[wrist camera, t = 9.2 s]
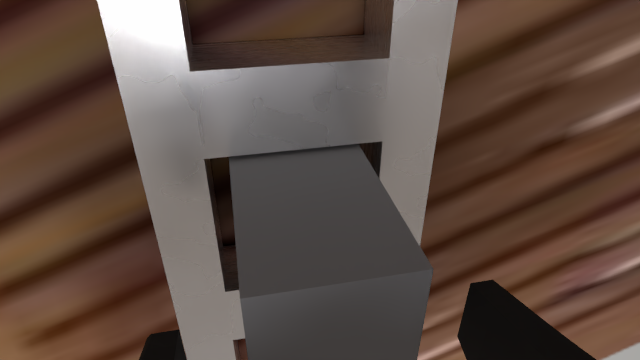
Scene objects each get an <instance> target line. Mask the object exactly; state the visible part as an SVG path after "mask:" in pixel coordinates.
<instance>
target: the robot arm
mask: <svg viewBox="0 0 640 360" xmlns="http://www.w3.org/2000/svg"><path fill="white" fill-rule="evenodd" d="M458 339H459V341H460V344H461V347H462V349H463V352H464V354H465V357H466V359H467V360H596V359H595V358H593V357H592V356H591V355H589V354H588V353H586V352H585V351H584V350H582V349H581V348H580V347H578V346H577V345H576V344H574V343H573V342H571V341H570V340H569V339H568V338H566V337H565V336H564V335H562V334H561V333H560V332H558V331H557V330H556V329H554V328H553V327H552V326H551V325H549V324H548V323H547V322H545V321H544V320H543V319H542V318H540V317H539V316H538V315H537V314H535V313H534V312H533V311H532V310H530V309H529V308H528V307H526V306H525V305H524V304H523V303H521V302H520V301H519V300H518V299H516V298H515V297H514V296H513V295H511V294H510V293H509V292H508V291H506V290H505V289H504V288H503V287H501V286H500V285H499V284H497V283H496V282H495V281H493V280H488V281H482V282H476V283H471V284H470V288H469V292H468V296H467V300H466V304H465V308H464V312H463V316H462V320H461V324H460V328H459V332H458ZM139 360H187V359H186V355H185V352H184V348H183V344H182V340H181V336H180V332H179V330H174V331H167V332H161V333H155V334H151V335H150V336H149V337H148V338H147V340H146V343H145V345H144V348H143V351H142V353H141V356H140V358H139Z"/></svg>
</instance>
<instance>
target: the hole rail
mask: <svg viewBox="0 0 640 360" xmlns="http://www.w3.org/2000/svg"><path fill="white" fill-rule="evenodd" d="M97 2H98V6H99V10H100V14H101V18H102V22H103V26H104V30H105V34H106V38H107V42H108V46H109V50H110V54H111V58H112V62H113V66H114V69H115V73H116V77H117V81H118V85H119V89H120V93H121V97H122V101H123V105H124V109H125V113H126V117H127V121H128V125H129V129H130V133H131V137H132V141H133V145H134V149H135V153H136V157H137V161H138V165H139V169H140V173H141V177H142V181H143V185H144V189H145V193H146V197H147V201H148V205H149V209H150V213H151V217H152V221H153V225H154V229H155V233H156V237H157V241H158V245H159V249H160V253H161V257H162V261H163V265H164V269H165V273H166V277H167V281H168V285H169V289H170V293H171V297H172V301H173V305H174V309H175V313H176V317H177V320H178V324H179V328H180V332H181V336H182V340H183V344H184V348H185V352H186V356H187V360H240V354H239V348H238V341H237V339H243V338H245V332H244V325H243V317H242V310H241V303H240V292H239V280H238V267H237V255H236V245H229V246H223V242H222V235H221V229H220V222H219V215H218V209H217V202H216V196H215V189H214V182H213V176H212V169H211V163H210V158H220V157H230V156H240V155H250V154H260V153H270V152H280V151H290V150H300V149H310V148H320V147H330V146H340V145H350V144H359V146H360V147H361V149H362V151H363V152H364V154H365V156H366V157H367V159H368V161H369V162H370V164H371V166H372V167H373V169H374V171H375V172H376V174H377V176H378V177H379V179H380V181H381V182H382V184H383V186H384V187H385V189H386V191H387V192H388V194H389V196H390V197H391V199H392V201H393V202H394V204H395V206H396V207H397V209H398V211H399V212H400V214H401V216H402V217H403V219H404V221H405V222H406V224H407V226H408V227H409V229H410V231H411V232H412V234H413V236H414V238H415V239H416V241H417V243H418V244H419V246H420V242H421V236H422V229H423V223H424V216H425V210H426V203H427V197H428V190H429V184H430V177H431V171H432V164H433V158H434V151H435V145H436V138H437V132H438V125H439V119H440V112H441V106H442V99H443V93H444V86H445V80H446V73H447V67H448V60H449V54H450V47H451V41H452V34H453V28H454V21H455V15H456V8H457V2H458V0H366V1H365V21H364V35H352V36H335V37H317V38H300V39H282V40H265V41H247V42H230V43H213V44H195V45H193V43H192V37H191V30H190V24H189V17H188V10H187V4H186V0H97Z"/></svg>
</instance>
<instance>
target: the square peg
mask: <svg viewBox="0 0 640 360" xmlns="http://www.w3.org/2000/svg"><path fill="white" fill-rule="evenodd" d="M229 167H230V179H231V192H232V204H233V217H234V230H235V242H236V255H237V267H238V280H239V292H240V303H241V310H242V317H243V325H244V332H245V339H246V347H247V354H248V360H417V356H418V351H419V346H420V340H421V335H422V329H423V324H424V318H425V313H426V307H427V302H428V296H429V291H430V285H431V280H432V274H433V268H432V266H431V264H430V263H429V261H428V259H427V258H426V256H425V254H424V253H423V251H422V249H421V248H420V246H419V244H418V243H417V241H416V239H415V238H414V236H413V234H412V232H411V231H410V229H409V227H408V226H407V224H406V222H405V221H404V219H403V217H402V216H401V214H400V212H399V211H398V209H397V207H396V206H395V204H394V202H393V201H392V199H391V197H390V196H389V194H388V192H387V191H386V189H385V187H384V186H383V184H382V182H381V181H380V179H379V177H378V176H377V174H376V172H375V171H374V169H373V167H372V166H371V164H370V162H369V161H368V159H367V157H366V156H365V154H364V152H363V151H362V149H361V147H360V146H359V144H350V145H340V146H330V147H320V148H310V149H300V150H290V151H280V152H270V153H260V154H250V155H240V156H230V157H229Z"/></svg>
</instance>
